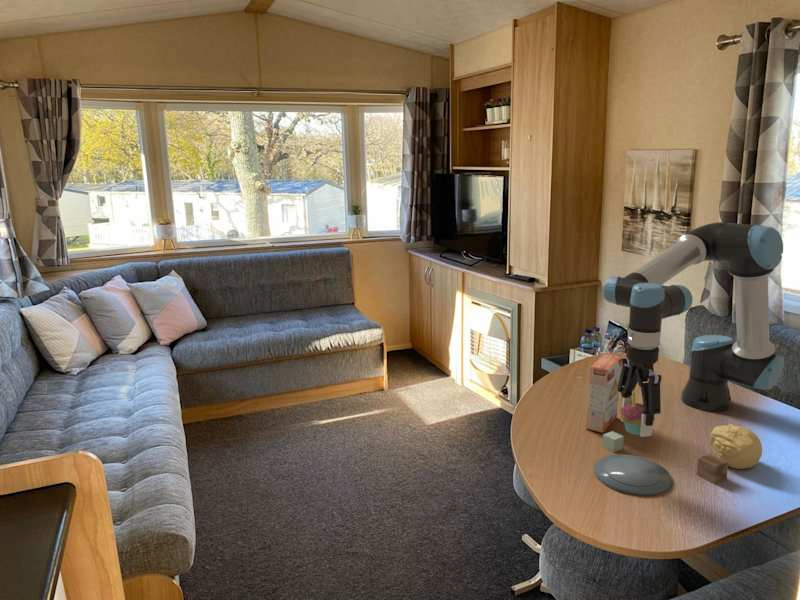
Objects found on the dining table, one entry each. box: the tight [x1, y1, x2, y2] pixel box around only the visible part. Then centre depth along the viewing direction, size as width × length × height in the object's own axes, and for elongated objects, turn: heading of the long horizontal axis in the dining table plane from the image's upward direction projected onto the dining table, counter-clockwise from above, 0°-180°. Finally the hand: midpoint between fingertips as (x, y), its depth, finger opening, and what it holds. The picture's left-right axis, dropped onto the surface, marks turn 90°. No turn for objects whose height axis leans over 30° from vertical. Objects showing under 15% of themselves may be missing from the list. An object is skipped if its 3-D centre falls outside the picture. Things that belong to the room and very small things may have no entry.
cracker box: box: [585, 353, 623, 434], centre depth 186 cm, size 14×6×21 cm, turn 144°
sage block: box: [601, 431, 625, 453], centre depth 173 cm, size 4×4×4 cm
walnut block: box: [696, 453, 729, 484], centre depth 157 cm, size 5×5×5 cm
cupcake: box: [619, 389, 656, 436], centre depth 154 cm, size 9×8×12 cm
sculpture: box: [709, 423, 763, 470], centre depth 163 cm, size 12×12×11 cm
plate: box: [593, 453, 672, 497], centre depth 159 cm, size 19×19×1 cm
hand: (635, 427), depth 155 cm, fingers closed on cupcake, 8 cm apart
